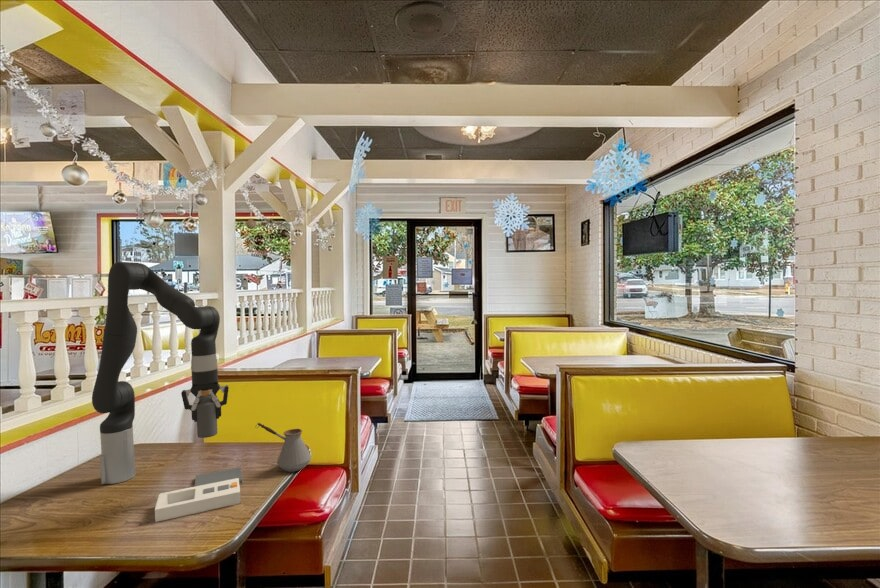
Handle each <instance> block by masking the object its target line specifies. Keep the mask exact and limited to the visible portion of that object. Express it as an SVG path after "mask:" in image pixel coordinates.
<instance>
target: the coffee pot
mask: <svg viewBox="0 0 880 588" xmlns="http://www.w3.org/2000/svg"><path fill="white" fill-rule="evenodd" d="M259 427H261V428H262V429H264V430H265V431H267V432H268V433H270V434H273V435H275V436H277V437H278V438H280V439H281V440H284V442H283V445H282V447H281V450H280V453H279V456H278V459H277V460H276V461H277V462H276V463H277V466H278V467H279V468H280V469H282V470H283V471H285V472H289V473H291V472H297V471H301V470H304V469H305V468H306V466H307V465H308V464H309V463H310V462H311V459H312V457H311V453H310V452H309V449H308V448H307V446H306V444H305V442H304V440H303V439H302V433H303V430H302V429H301V428H291V429H288V430H287V429H286V430H285V431H284V432H283V435H284V436H283V435H281V434H279V433H278V432H276V431H275V430H273V429H272V428H270V427H268V426H265V425H264V424H262V423H261V422H257V423H256V425H255V428H256V429H258V428H259Z"/></svg>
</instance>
